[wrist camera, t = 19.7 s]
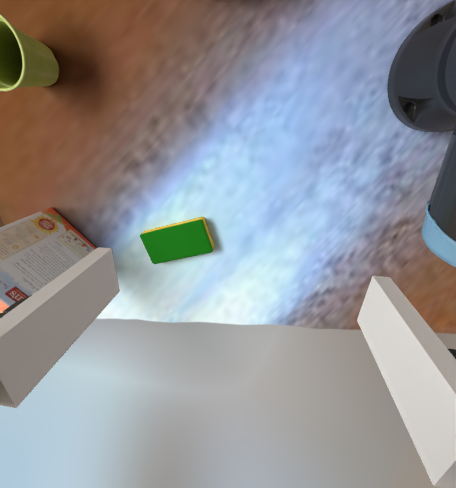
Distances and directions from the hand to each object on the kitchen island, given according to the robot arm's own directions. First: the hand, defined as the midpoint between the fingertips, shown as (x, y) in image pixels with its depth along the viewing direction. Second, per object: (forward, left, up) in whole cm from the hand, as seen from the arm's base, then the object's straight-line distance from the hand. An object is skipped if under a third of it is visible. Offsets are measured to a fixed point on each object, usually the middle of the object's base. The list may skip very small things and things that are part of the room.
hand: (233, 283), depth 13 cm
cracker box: (+40, +17, -35) cm, 56 cm away
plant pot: (+37, -15, -35) cm, 53 cm away
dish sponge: (+15, +15, -35) cm, 41 cm away
